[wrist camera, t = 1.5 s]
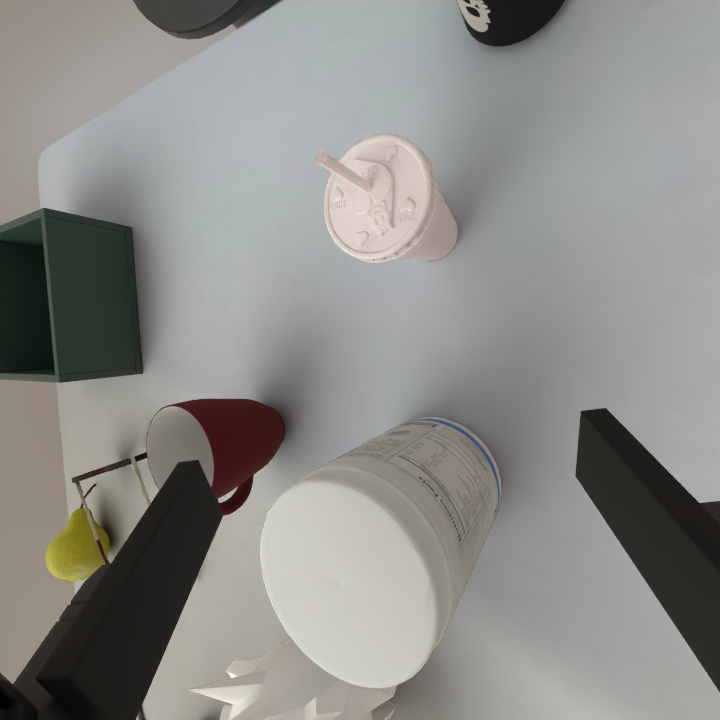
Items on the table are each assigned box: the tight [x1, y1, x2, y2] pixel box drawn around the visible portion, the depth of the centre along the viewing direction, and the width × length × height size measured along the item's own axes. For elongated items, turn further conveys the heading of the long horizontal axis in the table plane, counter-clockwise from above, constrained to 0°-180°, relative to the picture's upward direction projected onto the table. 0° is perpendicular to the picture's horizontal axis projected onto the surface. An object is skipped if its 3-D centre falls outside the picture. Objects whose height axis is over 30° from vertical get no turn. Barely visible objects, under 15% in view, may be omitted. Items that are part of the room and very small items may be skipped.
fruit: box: [46, 484, 110, 582], centre depth 53 cm, size 7×7×12 cm
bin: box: [0, 208, 142, 383], centre depth 47 cm, size 18×16×9 cm
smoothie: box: [315, 134, 458, 263], centre depth 23 cm, size 6×6×14 cm
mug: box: [146, 399, 285, 515], centre depth 34 cm, size 10×8×10 cm
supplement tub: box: [260, 417, 501, 688], centre depth 23 cm, size 10×10×15 cm
